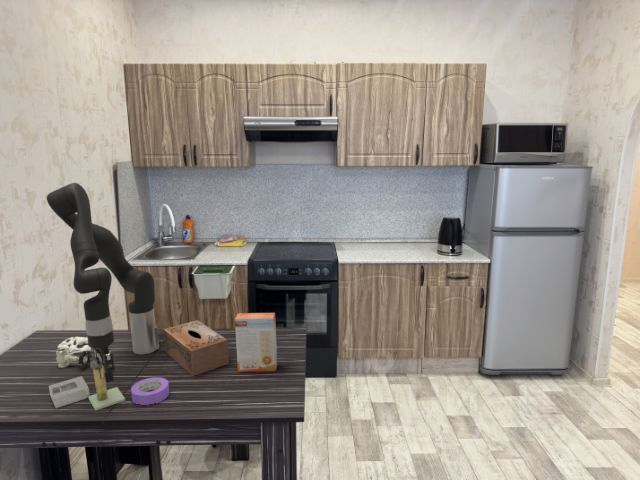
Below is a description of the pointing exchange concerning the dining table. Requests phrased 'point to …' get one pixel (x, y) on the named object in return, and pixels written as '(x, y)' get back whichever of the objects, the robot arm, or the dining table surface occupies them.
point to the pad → (107, 399)
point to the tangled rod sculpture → (73, 347)
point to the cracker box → (256, 342)
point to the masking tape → (154, 396)
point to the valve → (71, 358)
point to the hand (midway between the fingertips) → (106, 376)
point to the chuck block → (69, 391)
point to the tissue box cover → (196, 347)
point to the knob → (99, 379)
